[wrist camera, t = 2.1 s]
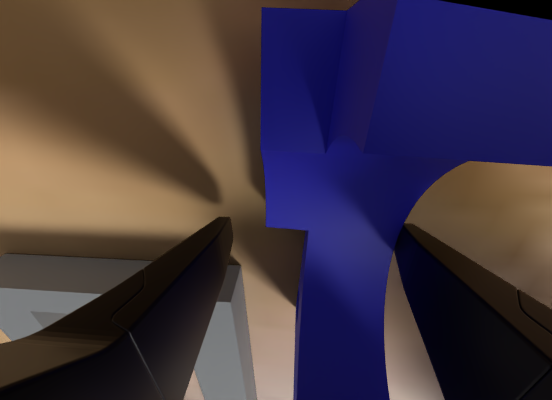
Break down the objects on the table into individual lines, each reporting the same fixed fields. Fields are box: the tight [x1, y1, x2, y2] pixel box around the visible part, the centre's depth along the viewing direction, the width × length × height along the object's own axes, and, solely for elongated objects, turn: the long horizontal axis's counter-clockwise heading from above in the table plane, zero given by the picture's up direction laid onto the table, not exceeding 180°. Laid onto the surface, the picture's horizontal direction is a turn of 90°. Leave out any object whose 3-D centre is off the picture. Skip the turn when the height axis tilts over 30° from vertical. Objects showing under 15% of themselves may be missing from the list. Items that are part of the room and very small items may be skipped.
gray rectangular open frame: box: [0, 254, 257, 400], centre depth 16 cm, size 12×18×2 cm, turn 1°
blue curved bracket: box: [260, 0, 552, 400], centre depth 8 cm, size 12×4×6 cm, turn 178°
